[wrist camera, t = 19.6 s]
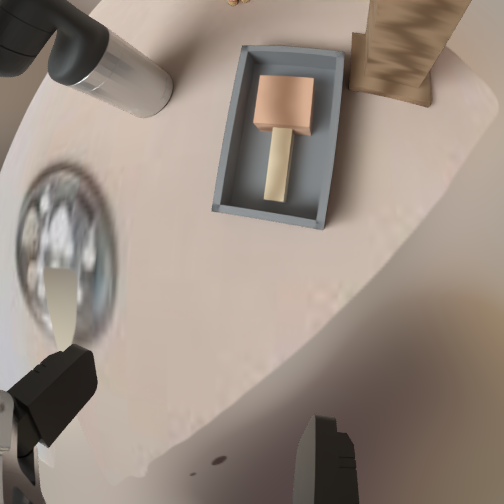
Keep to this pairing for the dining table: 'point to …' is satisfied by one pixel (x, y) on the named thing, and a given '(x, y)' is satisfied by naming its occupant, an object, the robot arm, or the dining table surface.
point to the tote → (258, 143)
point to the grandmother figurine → (235, 2)
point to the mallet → (283, 125)
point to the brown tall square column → (402, 47)
